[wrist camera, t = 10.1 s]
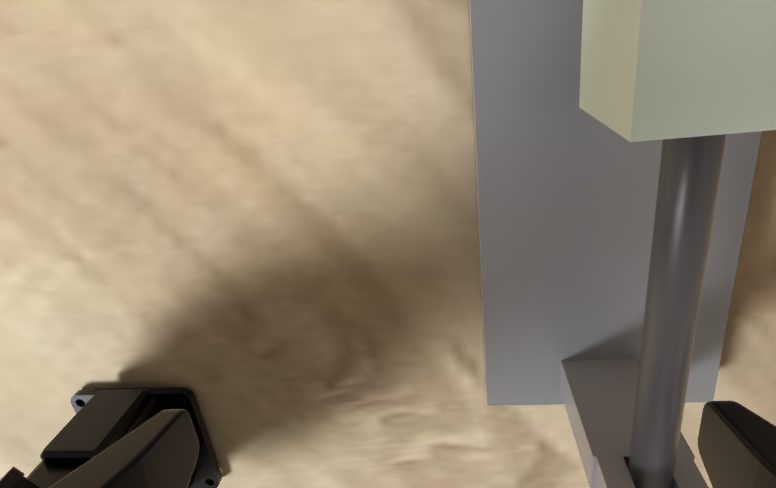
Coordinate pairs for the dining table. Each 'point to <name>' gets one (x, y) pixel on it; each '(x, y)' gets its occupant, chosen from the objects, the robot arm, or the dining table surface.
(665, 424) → the axle rod stand
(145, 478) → the robot arm
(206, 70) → the dining table surface
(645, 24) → the sleeve
